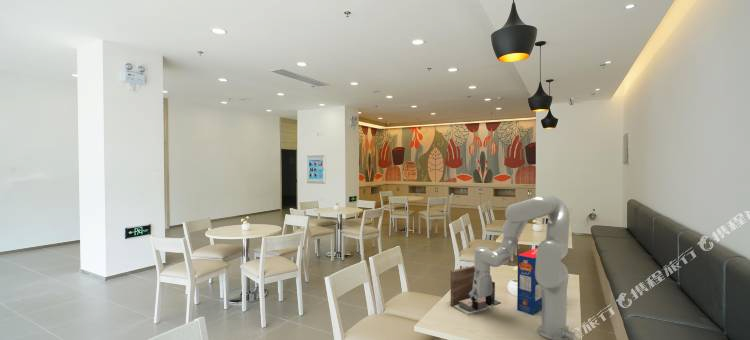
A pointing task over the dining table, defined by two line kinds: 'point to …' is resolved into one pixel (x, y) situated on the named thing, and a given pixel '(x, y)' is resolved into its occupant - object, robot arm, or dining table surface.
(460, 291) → the shelf panel
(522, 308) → the pasta box
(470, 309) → the packaged product
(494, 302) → the bookend
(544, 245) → the robot arm
